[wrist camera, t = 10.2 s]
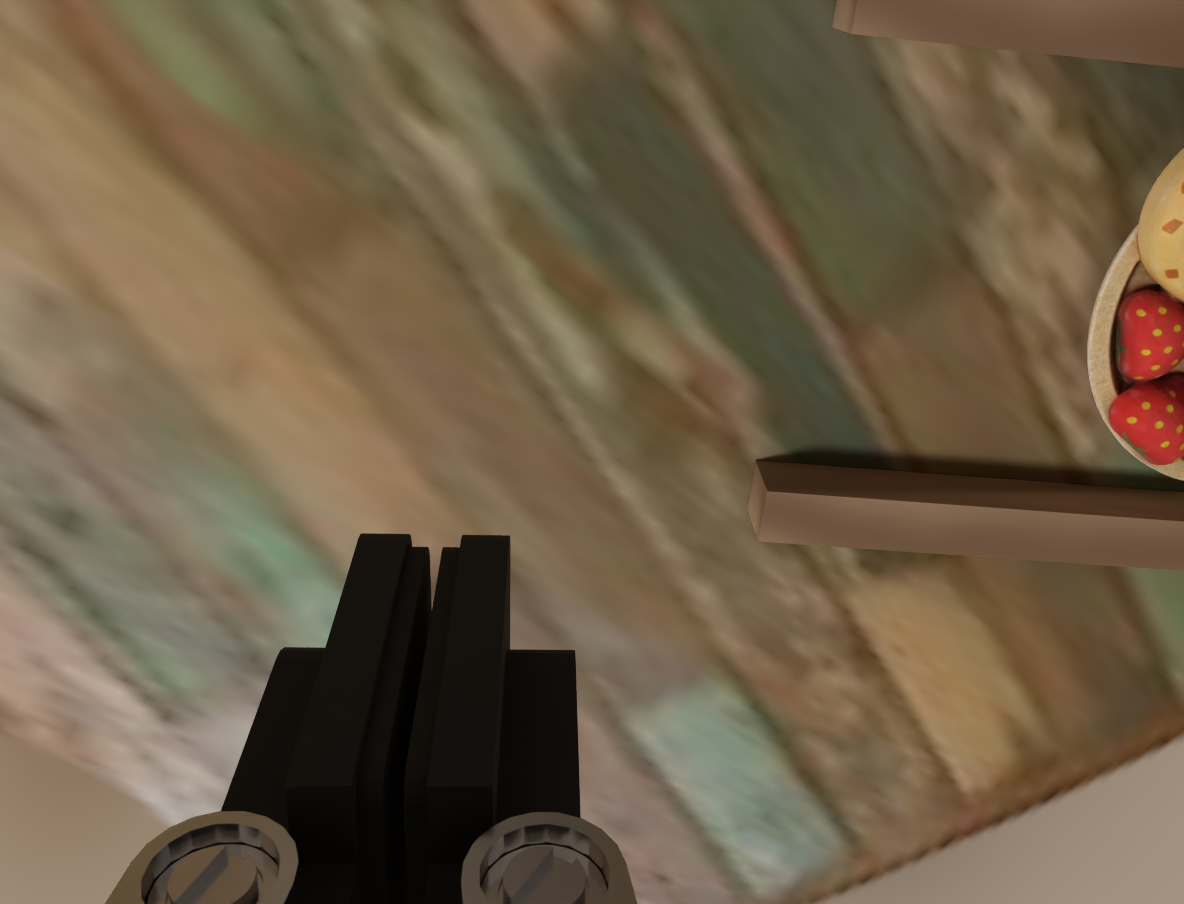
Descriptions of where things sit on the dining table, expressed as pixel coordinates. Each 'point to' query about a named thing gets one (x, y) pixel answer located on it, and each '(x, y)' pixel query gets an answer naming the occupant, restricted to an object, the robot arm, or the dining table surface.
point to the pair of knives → (965, 503)
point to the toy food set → (1145, 332)
